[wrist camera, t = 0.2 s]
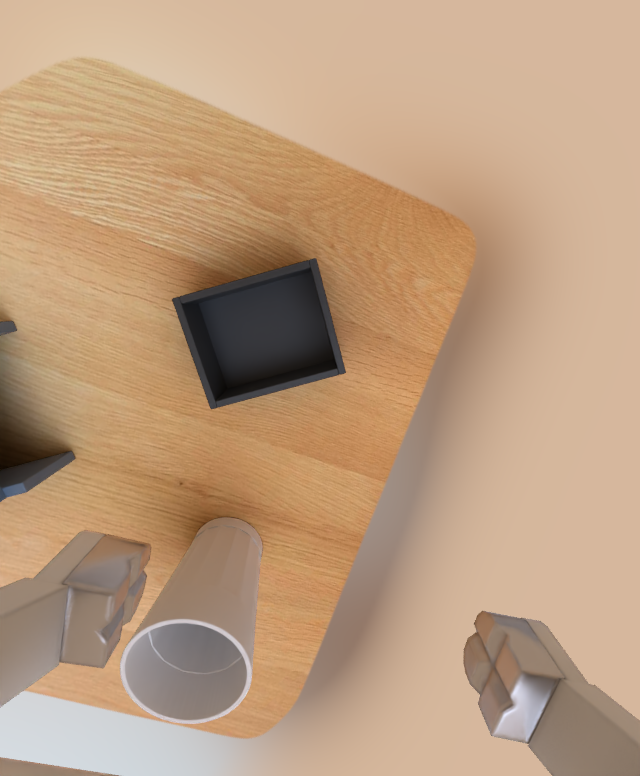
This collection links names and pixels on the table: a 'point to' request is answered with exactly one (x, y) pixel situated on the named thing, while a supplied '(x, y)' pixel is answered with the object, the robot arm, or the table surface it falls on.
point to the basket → (261, 334)
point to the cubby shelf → (33, 472)
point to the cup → (199, 629)
